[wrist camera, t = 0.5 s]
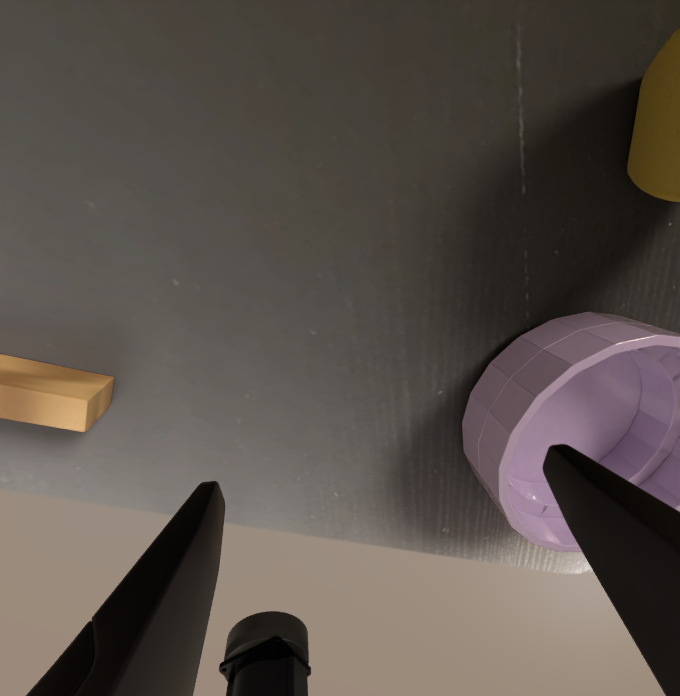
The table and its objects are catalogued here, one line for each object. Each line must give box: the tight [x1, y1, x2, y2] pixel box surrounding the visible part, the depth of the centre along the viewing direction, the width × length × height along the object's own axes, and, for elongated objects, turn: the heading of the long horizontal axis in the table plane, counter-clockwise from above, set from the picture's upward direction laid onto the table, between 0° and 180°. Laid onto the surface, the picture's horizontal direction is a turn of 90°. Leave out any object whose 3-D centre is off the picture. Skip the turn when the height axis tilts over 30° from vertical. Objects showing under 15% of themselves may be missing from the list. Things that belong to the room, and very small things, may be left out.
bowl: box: [462, 312, 680, 552], centre depth 24 cm, size 15×15×6 cm
